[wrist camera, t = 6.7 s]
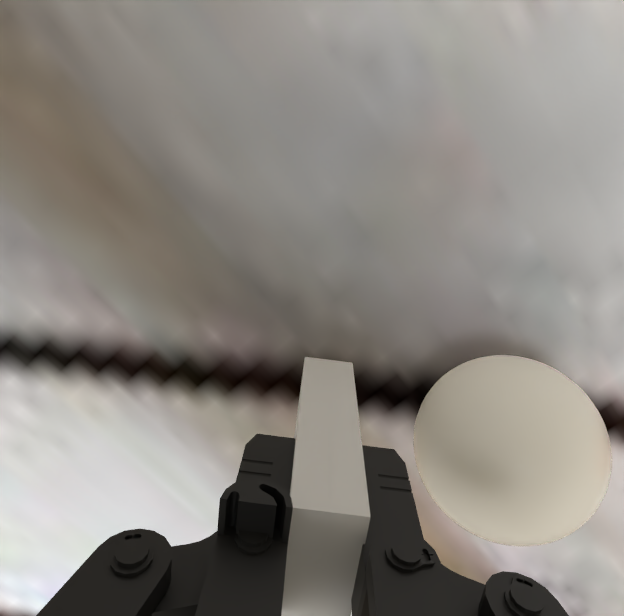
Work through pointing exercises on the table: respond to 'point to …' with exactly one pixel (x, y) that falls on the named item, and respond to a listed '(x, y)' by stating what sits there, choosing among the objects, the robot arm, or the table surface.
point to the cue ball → (512, 450)
